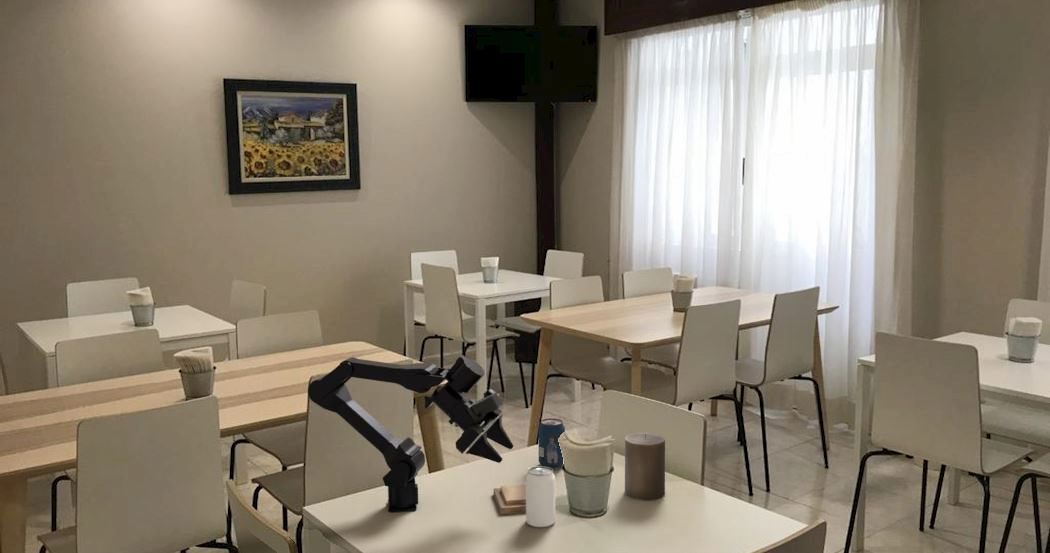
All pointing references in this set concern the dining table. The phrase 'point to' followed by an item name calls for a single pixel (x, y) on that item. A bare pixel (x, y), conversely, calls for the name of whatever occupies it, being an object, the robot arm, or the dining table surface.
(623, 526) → the dining table surface
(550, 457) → the soda can
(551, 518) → the can
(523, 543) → the dining table surface
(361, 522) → the dining table surface
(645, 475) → the pillar candle
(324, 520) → the dining table surface
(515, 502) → the plinth
